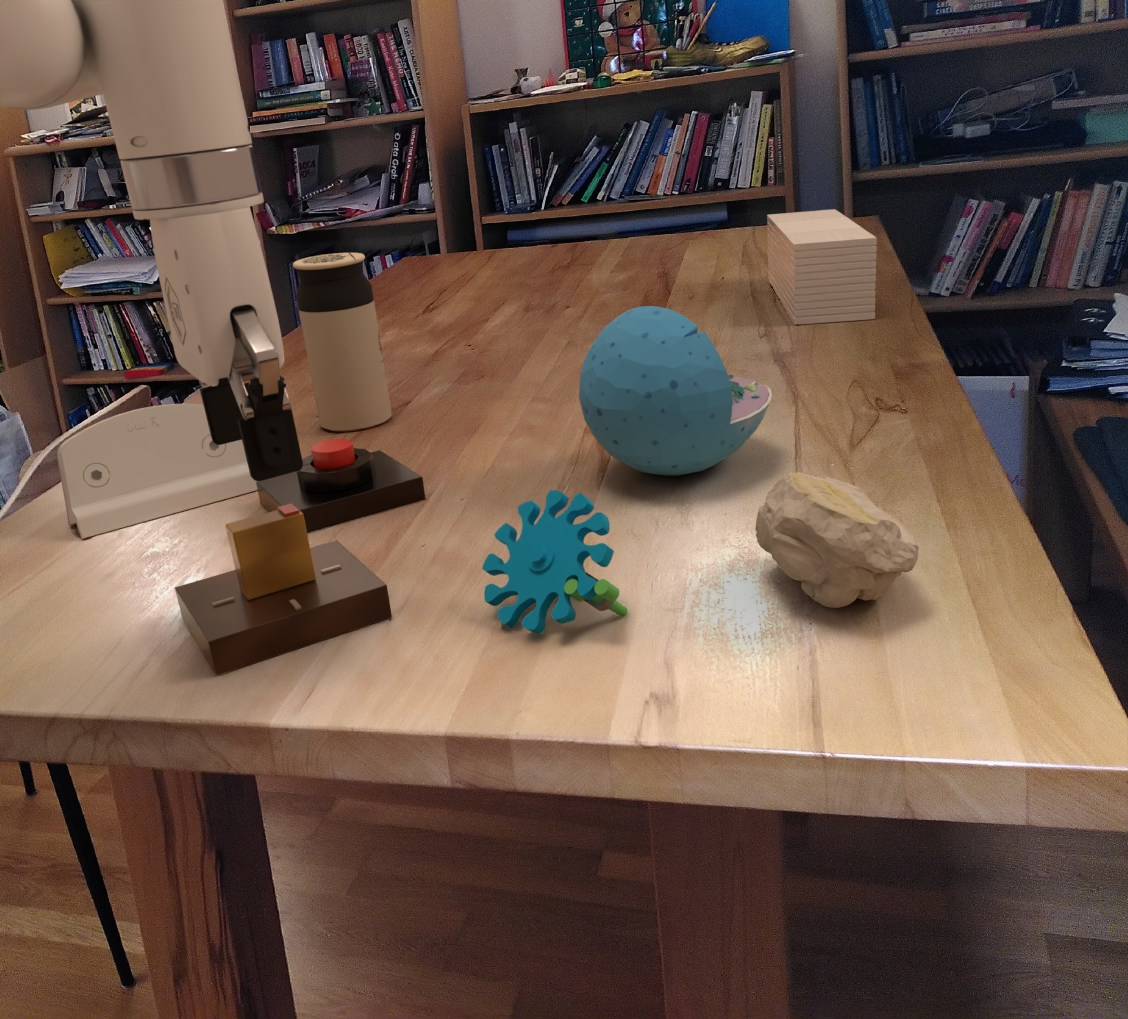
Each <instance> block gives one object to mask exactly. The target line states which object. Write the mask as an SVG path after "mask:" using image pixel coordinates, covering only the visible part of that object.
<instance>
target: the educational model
mask: <svg viewBox="0 0 1128 1019" xmlns="http://www.w3.org/2000/svg"><path fill="white" fill-rule="evenodd" d="M698 331H699V326H698V325H697V324H696V323H695V322H693V321H692V320H690V319H689V318H687V317H686V316H685V315H684V314H681V313H679V312H678V311H675V310H673V309H671V308H666V307H661V306H657V305H645V306H643V305H642V306H637V307H634V308H630V309H628V310H626V311H624V312H623V313H621V314H619V315H617V317H615V319H613V320H611V321H610V322H609V323H608V324H607V325H605V326H604V328H603V329H602V330H601V331H600V333H599V335H598V336H597V337H596V339H595V340H594V342H593V343H592V344H591V346H590V348H589V350H588V351H587V353H586V355H585V357H584V359H583V363H582V366H581V367H582V368H581V369H580V373H579V375H580V376H579V388H578V398H579V403H580V407H581V411H582V416H583V419H584V422H585V424H586V425H587V427H588V428H589V430H590V432H591V433H592V435H593V437H594V438H595V440H596V442H597V443H598V445H600V446H601V448H603V449H604V450H605V451H606V452H607V453H608V454H609V455H610V456H611V457H612V458H613V459H616V460H617V461H619V462H620V463H622V464H624V465H626V466H628V467H629V468H631V469H634V470H636V471H638V472H641V473H647V474H651V475H659V476H677V477H679V476H682V475H688V474H693V473H698V472H704V471H705V470H707V469H709V468H712V467H714V466H715V465H717V464H718V463H720V462H722V461H724V460H725V459H727V458H728V457H730V456H731V455H733V454H735V453H736V452H737V451H739V449H740V448H742V447H743V445H744V444H745V443H746V442H747V441H748V440H749V439H750V437H752V435H753V434H754V433H755V432H756V431H757V429H758V428H759V426H760V424H761V423H762V421H763V420H764V418H765V415H766V414H767V411H768V408H769V405H770V403H771V401H772V398H773V393H772V390H771V387H769V386H768V385H766V384H758V381H756V380H752V379H749V378H746V377H741V376H734V375H733V374H728V371H727V369H726V367H725V363H724V362H723V360H722V358H721V355H720V353H719V351H718V350H717V348H716V347H715V344H714V343H713V341H712V340H711V339H710V337H709V336H708V334H707V333H706V331H705V330H704V331H703V330H702V331H699V332H698Z"/></svg>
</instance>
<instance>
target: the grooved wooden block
mask: <svg viewBox="0 0 1128 1019" xmlns="http://www.w3.org/2000/svg"><path fill="white" fill-rule="evenodd" d="M766 220H767V222H766V224H767V225H766V226H767V228H766V230H767V234H766V235H767V280H768V279H769V281H770V283H771V285H772V286H773V289H774V290H775V292H776V294H777V296H778V297H777V296H776V297H777V299H778V298H779V299H780V301H779V302H780V304H781V303H782V304H781V305H783V306H782V308H783V309H784V308H785V309H784V311H785V310H786V311H785V312H786V314H787V316H788V315H789V316H788V317H789V319H790V320H791V322H792V324H793V325H794V326H797V324H798V325H811V324H825V323H837V322H838V323H839V322H853V321H854V322H855V321H868V320H876V305H875V304H876V293H877V291H876V287H877V283H876V282H877V276H876V275H877V268H876V267H877V251H878V250H877V249H878V246H877V244H878V237H877V236H876V235H873V234H872V233H871V232H869V231H868V230H866V229H865V228H863V227H862V226H861V225H859V224H857V223H856V222H855V221H853V220H852V219H850V218H849V217H848V216H846V215H844V214H843V213H842V212H840V211H838V210H837V209H835V208H833V209H819V210H809V211H797V212H796V211H795V212H785V213H773V214H767V215H766ZM773 289H772V290H773ZM776 294H775V295H776ZM779 299H778V300H779Z"/></svg>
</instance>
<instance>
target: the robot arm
mask: <svg viewBox="0 0 1128 1019" xmlns="http://www.w3.org/2000/svg"><path fill="white" fill-rule="evenodd" d="M235 58H236V57H235V53H234V48H233V43H232V38H231V34H230V29H229V24H228V19H227V14H226V9H225V3H224V0H0V108H5V109H6V108H7V109H12V110H13V109H14V110H23V111H24V110H27V111H34V110H35V111H36V110H42V109H48V108H53V107H57V106H61V105H64V104H68V103H73V102H76V101H80V100H83V99H89V98H93V97H97V96H100V95H101V96H102V95H103V100H104V103H105V107H106V111H107V115H108V119H109V123H110V127H111V131H112V135H113V139H114V143H115V147H116V151H117V155H118V158H119V160H120V165H121V170H122V173H123V178H124V182H125V185H126V190H127V194H128V198H129V202H130V205H131V209H132V215H133V218H134V220H137V221H144V220H147V221H149V226H150V233H151V240H152V246H153V252H154V258H155V263H156V268H157V274H158V279H159V284H160V289H161V293H162V299H163V302H164V307H165V312H166V317H167V322H168V327H169V331H170V336H171V337H170V338H171V343H172V346H173V351H174V356H175V358H176V361H177V363H178V364H179V365H180V366H181V367H182V369H184V370H185V371H187V372H188V373H189V374H191V376H193V377H194V378H196V379H197V380H198V382H199V385H200V386H201V388H199V392H200V393H199V394H200V396H201V401H202V405H204V409H205V413H206V418H207V422H208V426H209V430H210V434H211V438H212V441H213V442H214V443H215V444H217V445H222V444H226V443H230V442H234V441H238V440H240V441H241V443H242V445H243V447H244V451H245V455H246V459H247V464H248V468H249V472H250V476H251V477H252V478H253V479H254V480H255V481H263V480H266V479H270V478H274V477H278V476H281V475H285V474H289V473H293V472H296V471H299V470H301V469H302V467H303V461H302V459H303V456H302V452H301V447H300V443H299V438H298V437H299V436H298V432H297V428H296V422H295V419H294V413H293V409H292V408H293V407H292V404H291V399H290V397H289V393H288V392H287V389H286V387H287V383H286V382H285V377H284V376H282V375H281V369H282V367H283V365H284V364H285V351H284V344H283V338H282V332H281V327H280V322H279V321H280V320H279V316H278V312H277V307H276V303H275V299H274V294H273V290H272V287H271V282H270V277H269V274H268V270H267V264H266V262H265V258H264V254H263V251H262V246H261V239H260V238H259V235H258V231H257V228H256V225H255V221H254V217H253V214H252V210H251V207H254V206H258V205H261V204H264V202H265V200H264V194H263V190H262V189H263V188H262V185H261V179H260V175H259V170H258V165H257V164H258V163H257V160H256V155H255V150H254V146H253V141H252V135H251V132H250V127H249V120H248V116H247V111H246V107H245V102H244V98H243V92H242V88H241V83H240V78H239V73H238V69H237V68H238V67H237V63H236V59H235Z"/></svg>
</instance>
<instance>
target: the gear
mask: <svg viewBox="0 0 1128 1019" xmlns="http://www.w3.org/2000/svg"><path fill="white" fill-rule="evenodd" d="M569 500H570V498H569V497H568V496H567V495H566V494H565V493H563V492H561V491H560V490H557V489H556V490H555V489H550V490H549V491H548V492H547V494H546V496H545V505H544V510H543V512H542V514H541V506H540V505H539V504H538V503H536V501H534V500H528V501H525V502H523V503H521V504H519V505H518V509H517V513H518V515H519V517H520V518H521V532H520V535H519V537H518V539H517V536H518V531H517V529H516V528H515V527H513V526H512V525H510V524H509V523H507V522H505V523H503V524H502V525H501V526H499V528H498V529H497V530H496V532H494V537H495V539H496V540H497V541H499V542H500V543H502V544H503V545H505V546H506V548H507V550H508V553H509V558H508V560H506V562H504V559H502V558H501V557H500V556H498V555H496V554H495V553H488V555H487V556H486V558H485V559H484V562H483V565H482V567H481V569H482V570H483V571H484V572H485V573H487V574H489V575H490V576H493V577H495V576H499V575H507V577H508V580H507V582H506V584H505V585H504V586H502V587H500V586H498V585H497V584H495V583H489V584H487V585H486V586H484V592H483V593H484V594H483V596H484V597H483V598H484V602H485V603H487V604H489V605H490V606H492V607H497V606H499V605H501V604H502V603H503V602H504V601H505V600H507V599H509V598H511V597H515V596H517V600H516V601H515V602H514V603H513V604H509V605H503V606H501V607H500V608H499V609H498V610H497V612H496V615H497V618H498V620H499V621H500V622H501V623H502V625H504V626H505V627H507V628H509V629H513V628H515V627H516V626H517V625H518V623H519V622H520V619H521V618H522V616H523V614H524V613H525V612H526V611H527V610H528V609H529V608H531V607H532V606H534V605H535V607H534V609H533V610H531V611H530V612H528V613H527V614H526V615H525V616H524V617H523V618H522V620H521V627H523V629H525V630H527V631H529V632H532V633H533V634H537V635H541V634H543V633H544V631H545V629H546V620H547V615H548V612H549V609H550V608H551V606H552V605H553V603H554V602H555V600H556V599H557V598H558V599H557V602H556V604H555V605H554V607H553V608H552V610H551V619H552V620H553V621H555V622H556V623H558V624H560V625H565V624H568V623H571V622H573V621H575V620H576V616H577V612H576V610H575V608H574V607H573V603H572V599H574V600H576V601H578V602H583V601H584V602H585V603H586V604H588V605H589V606H591V607H593V608H594V609H595V610H597V611H599V612H605V611H608V610H609V611H611V612H613V613H614V614H616V615H617V616H618V617H620V618H625V617H626V616H627V615H628V613H629V609H628V607H627V606H625V605H624V604H622V603H621V602H620V601H618V598H619V597H620V589H619V587H617V586H616V585H614V584H613V583H612V582H610V581H609V580H607V579H605V578H601V579H599V578H596V577H595V576H593V575H591V574H589V572H587V571H586V569H585V567H584V566H585V565H584V563H585V561H586V559H587V558H588V557H590V558H591V560H592V561H593V562H594V563H595V564H597V565H598V566H599V567H601V568H608V567H609V565H610V563H611V562H612V559H613V556H614V553H615V550H614V549H612V548H611V546H608V545H607V544H605V543H604V542H601V543H597V544H592V545H591V544H586V543H585V542H584V541H585V538H586V536H587V535H588V534H590V533H594V534H596V535H598V536H601V537H602V536H603V537H604V536H606V535H608V534H609V533H610V526H611V524H610V520H609V517H608V516H607V515H606V514H604V513H603V512H602V511H598V512H595V513H594V514H592V515H591V516H590V517H589V518H587V519H586V520H584V521H582V522H579V523H574V522H575V520H576V519H577V518H578V517H580V516H587V515H589V514H591V513H592V512H593V511H594V510H595V505H594V503H593V502H592V500H591V499H590V498H588V497H587V496H586V495H584V493H583V492H577V494H575V495H574V496H573V498H572V500H571V503H570V504H569V505H568V503H569ZM566 507H567V508H566ZM565 508H566V509H565ZM564 509H565V510H564ZM562 510H564V511H563V512H562V513H561V514H559V515H558V516H557V514H558V513H559V512H560V511H562ZM540 514H541V516H540ZM539 516H540V517H539ZM537 519H538V520H537ZM536 521H537V522H536Z"/></svg>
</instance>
